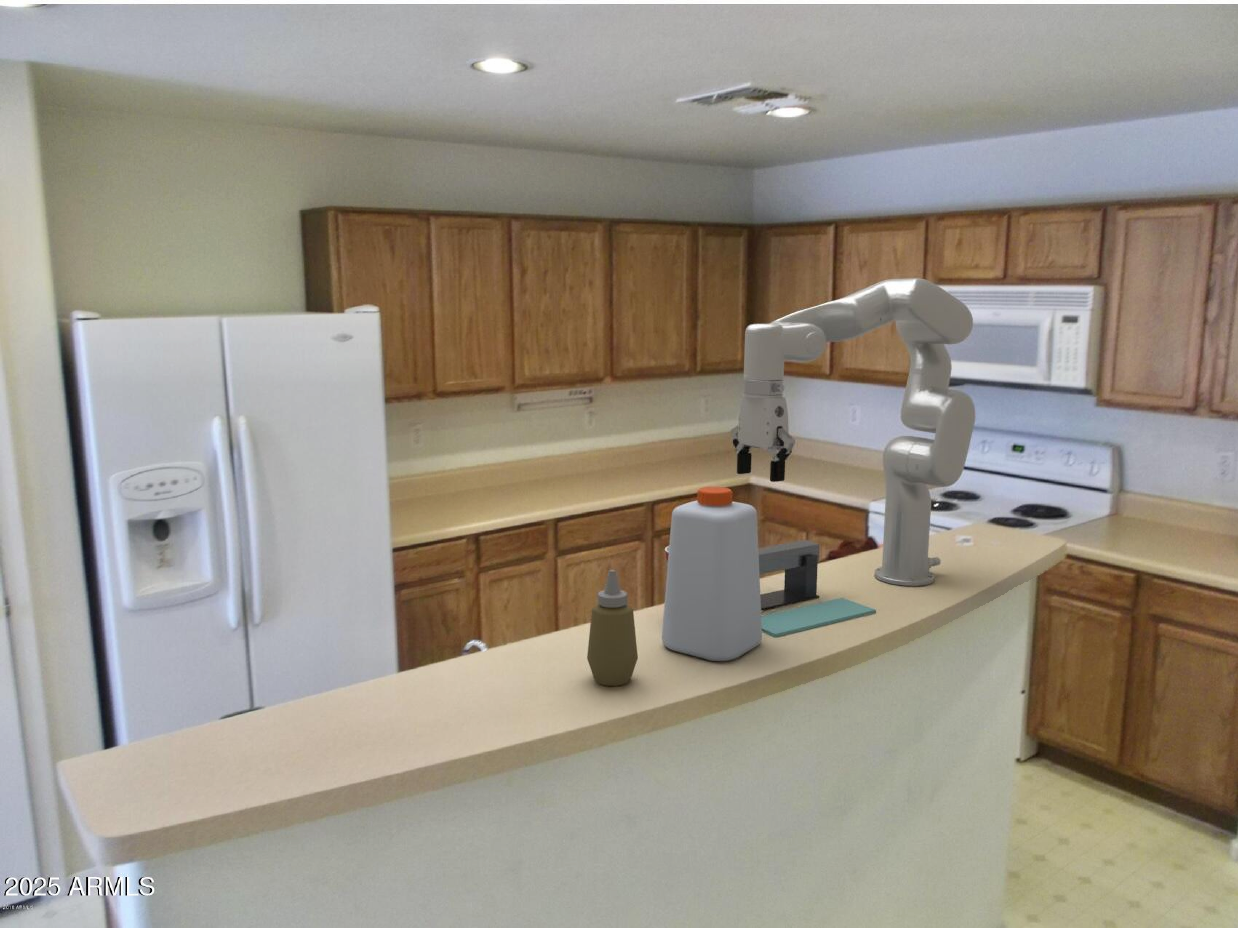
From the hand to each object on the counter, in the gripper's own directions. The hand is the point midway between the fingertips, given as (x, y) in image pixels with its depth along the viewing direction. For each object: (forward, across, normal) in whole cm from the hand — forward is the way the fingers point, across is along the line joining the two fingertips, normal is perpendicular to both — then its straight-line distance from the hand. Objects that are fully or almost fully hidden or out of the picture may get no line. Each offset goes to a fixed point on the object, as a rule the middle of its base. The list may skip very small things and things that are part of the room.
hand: (760, 477), depth 175 cm
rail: (+19, +2, -5) cm, 20 cm away
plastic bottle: (+27, -11, +20) cm, 35 cm away
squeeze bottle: (+27, -15, +43) cm, 53 cm away
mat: (+26, -10, -5) cm, 29 cm away
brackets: (+26, +2, -5) cm, 27 cm away
